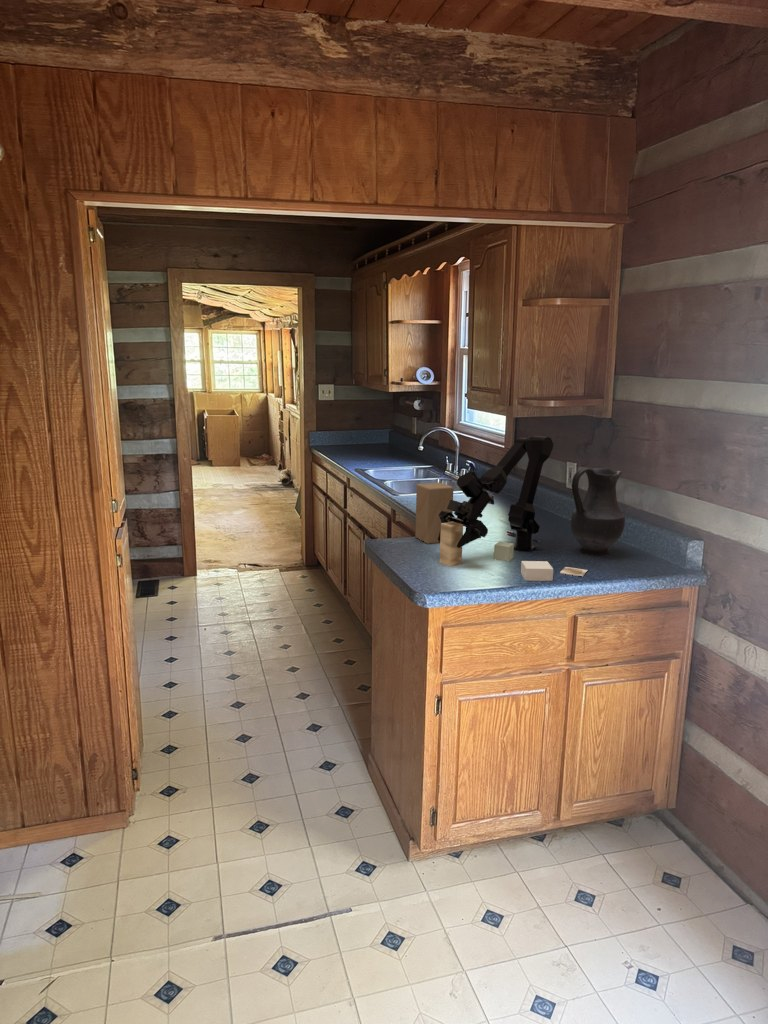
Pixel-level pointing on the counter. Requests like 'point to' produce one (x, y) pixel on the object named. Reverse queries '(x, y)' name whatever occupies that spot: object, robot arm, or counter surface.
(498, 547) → the sage cube
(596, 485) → the pitcher
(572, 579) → the counter surface
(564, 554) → the counter surface
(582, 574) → the tile
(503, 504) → the counter surface
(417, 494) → the wooden block
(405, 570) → the counter surface
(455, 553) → the maple block
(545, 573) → the cream base block
